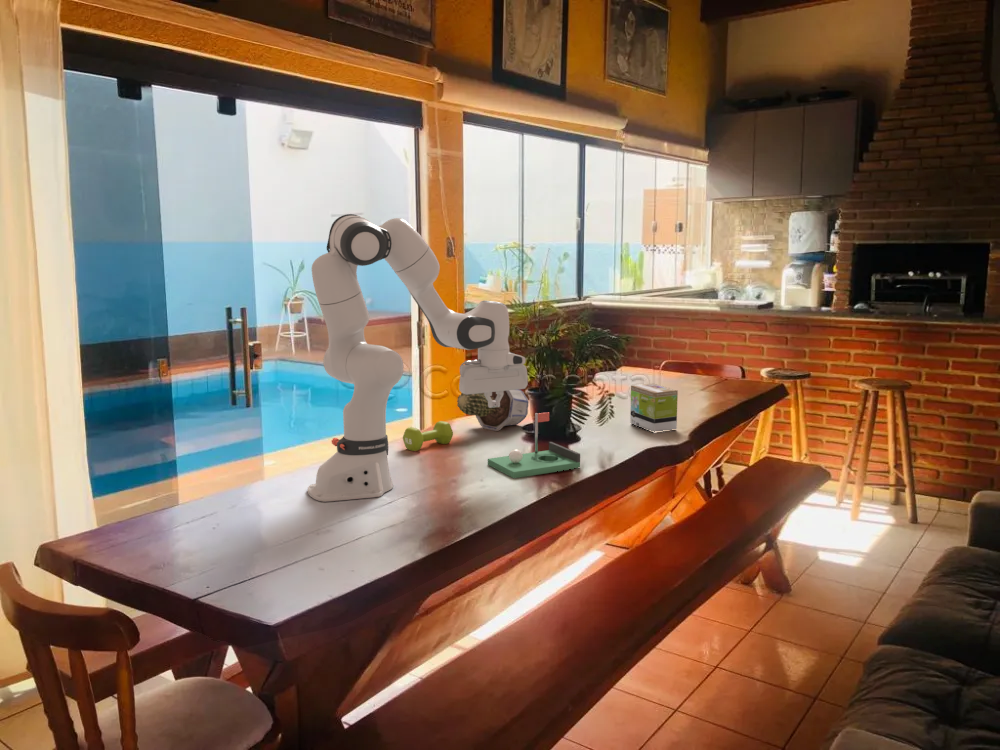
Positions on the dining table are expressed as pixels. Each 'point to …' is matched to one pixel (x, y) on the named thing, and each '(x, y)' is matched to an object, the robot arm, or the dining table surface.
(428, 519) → the dining table surface
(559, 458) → the mat
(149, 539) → the dining table surface
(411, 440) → the dumbbell
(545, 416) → the flag pin
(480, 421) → the potted plant
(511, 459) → the ball
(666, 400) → the tea box
